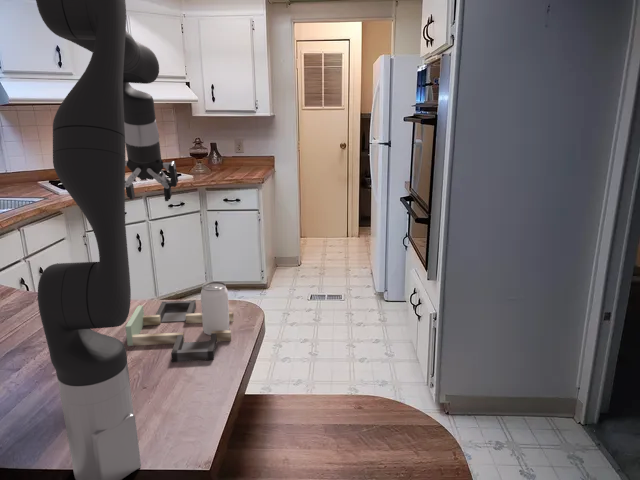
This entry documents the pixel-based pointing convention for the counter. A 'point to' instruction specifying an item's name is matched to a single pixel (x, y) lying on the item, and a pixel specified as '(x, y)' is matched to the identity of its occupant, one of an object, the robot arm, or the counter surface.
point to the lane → (181, 349)
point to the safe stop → (135, 324)
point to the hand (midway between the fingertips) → (150, 199)
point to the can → (214, 307)
